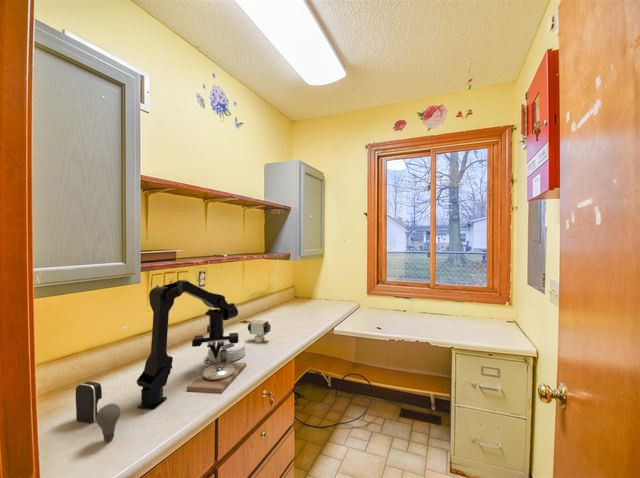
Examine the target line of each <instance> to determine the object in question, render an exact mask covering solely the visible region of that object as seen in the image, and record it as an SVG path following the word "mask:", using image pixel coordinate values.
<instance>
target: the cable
mask: <svg viewBox="0 0 640 478" xmlns="http://www.w3.org/2000/svg"><path fill="white" fill-rule="evenodd" d="M216 347H217V342H216ZM207 348H208V351H207V358H205V359H204V363H205V364H208V365H209V364H214V363H216V362H221V350H222V349H227V361H226V362H233V361H234V362H235V361H237V360H240V359H242V358H244V356H245V355H246V344H245V342H244V341H242V340H239V339H238V343H232V344H231V343H230V342H229V341H225V342H224V346H221V348H220V350H219V352H218V355H217V359H215V357H214V354H213V352H212V350H211V349H210V347H207Z"/></svg>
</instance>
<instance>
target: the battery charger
mask: <svg viewBox="0 0 640 478" xmlns="http://www.w3.org/2000/svg"><path fill="white" fill-rule="evenodd" d="M102 393H103V392H102V385H101V383H99V382H95V381H86V382H85V381H84V382H83V383H80V384H78V385H77V386H76V387H75V410H76V412H75V413H76V414H75V415H76V416H75V417H76V419H75V420H76V421H79V422H82V423H83V422H84V423H87V424H92V423H95V422H96V416H97V413H98V404H99V401H100V400H101V399H102V398H103V397H102V395H103V394H102Z"/></svg>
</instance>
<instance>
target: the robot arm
mask: <svg viewBox="0 0 640 478" xmlns="http://www.w3.org/2000/svg"><path fill="white" fill-rule="evenodd" d="M148 294H149V295H148V300H149V305H150V308H151V310H152V313H153V314H152V329H151V343H150V344H151V345H150V355H148V357H147V359H146V361H145V365H144V369H143V371H142V372H141V374H140V375H139V377H138V378H137V380H136V384H137V387H141V388H142V389H141V390H140V391H141V392H140V394H141V397H140V398H141V403H140V404H138V405H137V409H145V410H146V409H147V410H155V409H157V407H159V406H160V405H162V403H163V402H165V401H167V396H164V387H165V386H166V385H167V382H168V378H169V375H170V374H171V371H172V369H173V361H174V358H173V356H171V355H168V353H167V352H168V351H167V348H168V347H167V346H168V332H169V330H168V329H169V315H170V311H171V309H172V307H173V306H174V303H175V300H176V298H179V297H181V296H182V295H183V294H186V295H189V296H191V297H193V298H196V299H198V300H199V301H202V303H203V304H204V305H205V306H206V307H208V308H209V309H208V310H207V311H206V312H205V313H204V314H205V316H208V317H209V318H208V319H209V324H208V325H207V326H206V327H207V328H206V332H207V333H208V334H209V335H208V337H204V335H203V334H201V335H194V336H193V338H192V342H191V347H194V348H195V347H200V346H202V345H203V344H204V343H206V344H207V345H206V347H207V348H209V347H210V349H211V350H212V352H213V354H214V357H215V359H217V355H218V352H219V350H220V348H221V346H224V342H225V341H229V342H230V343H231V344H232V343H238V340H239V332H230V333H228V335H225V334H224V332H225V330H224V329H225V328H224V321H229V320H231V319H233V318H237V316H238V314H239V310H238V308H237V307H236V305H235V302H230V303H228V302H227V300H226V297H225V295H223V294H219V293H213V292H210V291H208V290H206V289H203V288H202V287H199V285H196V284H193V283H191V282H190V281H189V280H185V279H184V280H183V279H180V280H177V281H175V282H174V281H173V282H171V283H168V284H164V285H162V286H155V287H152V289H151V290H149V293H148ZM224 335H225V336H224ZM216 343H217V347H216Z"/></svg>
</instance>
